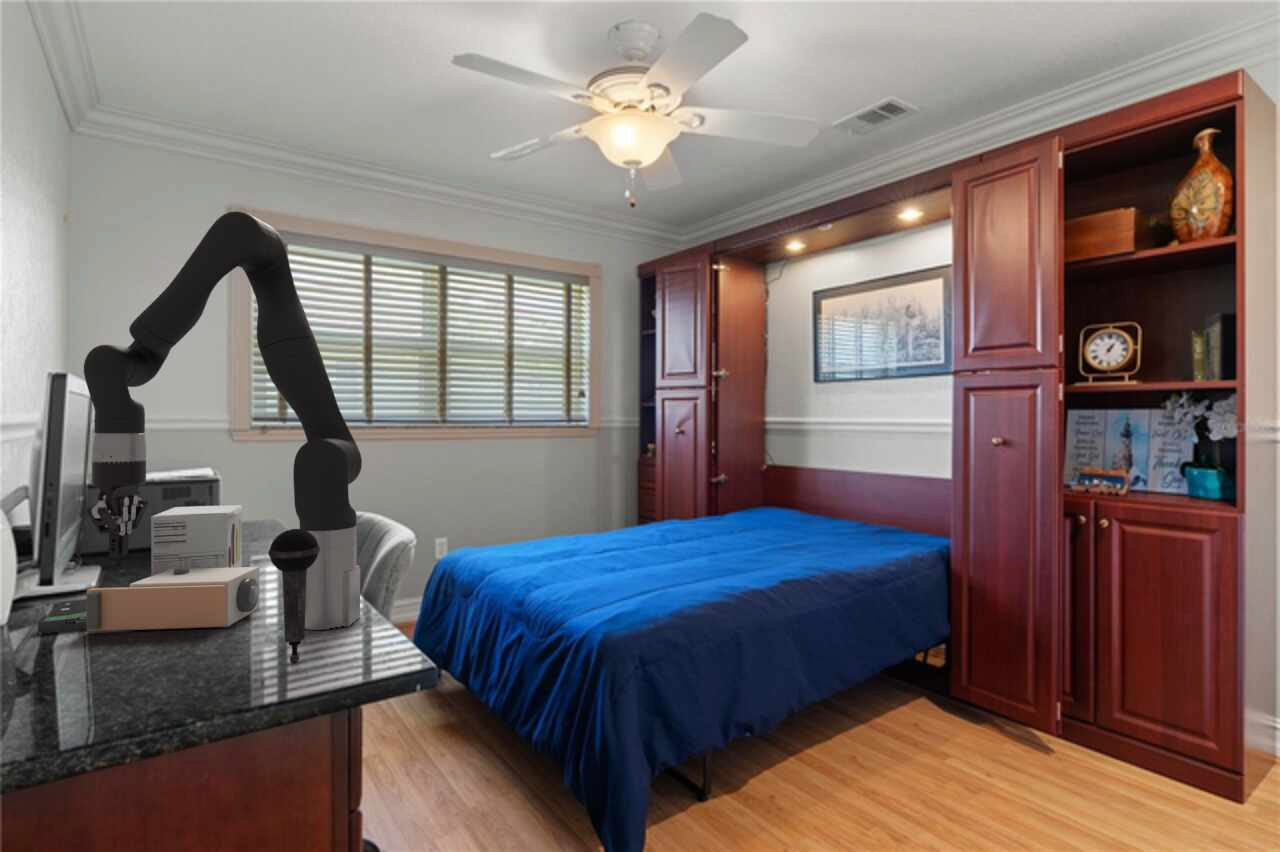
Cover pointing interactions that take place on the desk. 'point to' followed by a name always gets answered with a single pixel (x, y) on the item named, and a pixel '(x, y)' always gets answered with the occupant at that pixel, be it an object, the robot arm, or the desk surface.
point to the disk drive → (65, 618)
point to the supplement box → (196, 538)
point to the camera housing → (237, 579)
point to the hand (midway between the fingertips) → (118, 556)
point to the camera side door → (156, 607)
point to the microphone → (294, 579)
